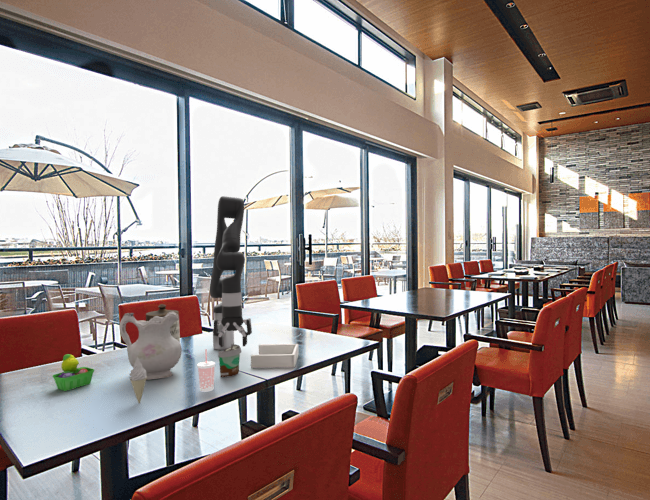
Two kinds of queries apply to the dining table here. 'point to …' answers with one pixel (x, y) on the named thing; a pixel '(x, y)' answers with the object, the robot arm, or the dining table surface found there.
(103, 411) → the dining table surface
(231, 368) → the food container
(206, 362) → the beverage cup
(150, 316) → the lidded jar
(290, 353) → the box
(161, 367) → the ceramic pitcher
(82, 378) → the fruit basket
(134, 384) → the ice cream cone
